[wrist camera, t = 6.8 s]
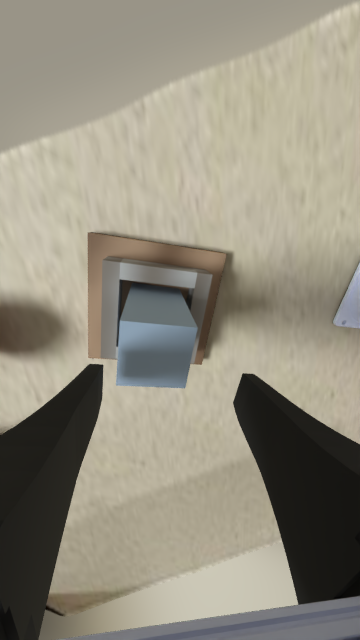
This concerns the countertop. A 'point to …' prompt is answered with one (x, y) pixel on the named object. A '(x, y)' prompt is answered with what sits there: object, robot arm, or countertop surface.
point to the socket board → (151, 269)
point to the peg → (155, 338)
